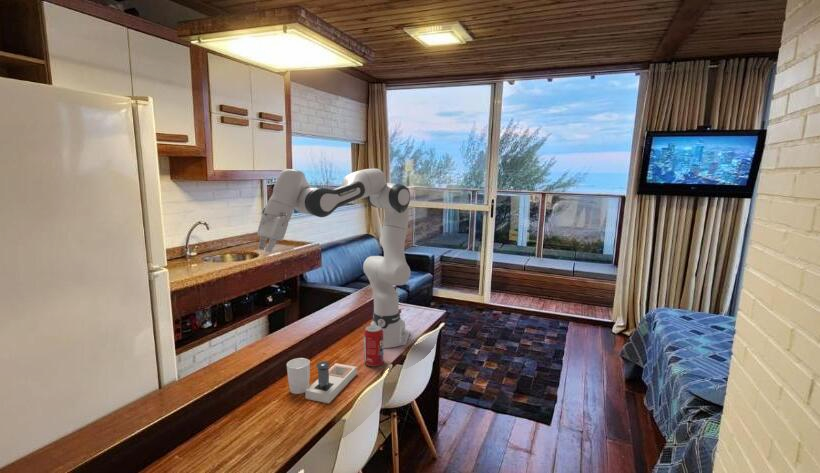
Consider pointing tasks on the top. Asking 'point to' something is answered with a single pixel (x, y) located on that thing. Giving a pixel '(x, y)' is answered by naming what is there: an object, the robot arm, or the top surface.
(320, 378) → the pin
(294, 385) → the white cup
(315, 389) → the dock board
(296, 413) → the top surface
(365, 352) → the soda can
